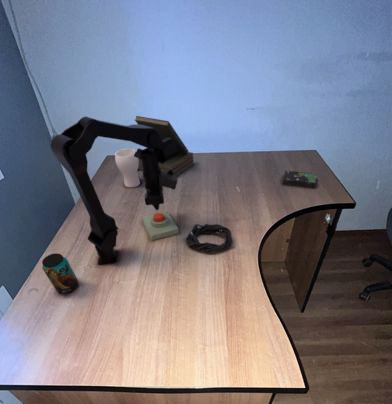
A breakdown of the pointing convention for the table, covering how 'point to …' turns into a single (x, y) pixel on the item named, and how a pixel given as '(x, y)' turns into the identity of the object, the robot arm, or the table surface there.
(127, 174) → the white vase
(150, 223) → the green stepped base
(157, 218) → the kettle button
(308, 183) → the disk drive
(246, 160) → the table surface
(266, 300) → the table surface
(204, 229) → the cable
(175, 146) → the robot arm
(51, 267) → the beverage can
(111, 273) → the table surface
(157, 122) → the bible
